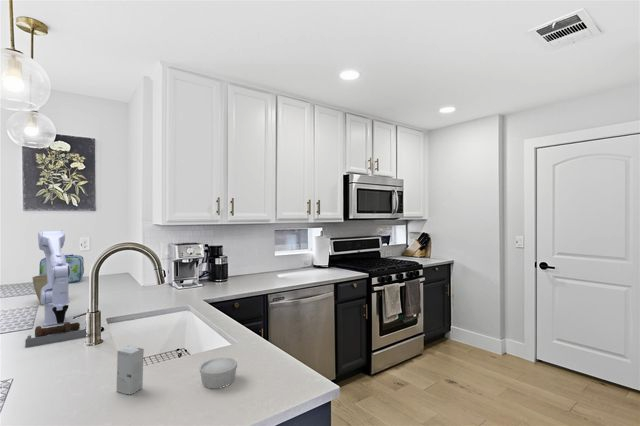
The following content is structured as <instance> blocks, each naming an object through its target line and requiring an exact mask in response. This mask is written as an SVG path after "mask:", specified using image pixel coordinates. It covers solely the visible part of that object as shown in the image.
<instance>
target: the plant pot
mask: <svg viewBox="0 0 640 426" xmlns="http://www.w3.org/2000/svg"><path fill="white" fill-rule="evenodd" d="M32 283H33V284H32V285H33V287H34V291H35V294H36V297H37V299H38V301H39V303H40V305H41V306H43V305H42V304H41V300H40V295H41V289H42V288H43V287H44V286H45V285H47V284H48V282H47V275H35V276H32Z"/></svg>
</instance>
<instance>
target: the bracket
mask: <svg viewBox="0 0 640 426" xmlns="http://www.w3.org/2000/svg"><path fill="white" fill-rule="evenodd" d="M82 338H87V337H86V326H85V327H84V329H80V330H79V329H78V330H72V331H70V332H66V333H64V332H63V333H57V334H52V335H47V336H41V337H35V336H34V337H32V335H31V334H30V335H27V337H26V338H25V341H24V342H25V348H30V347H37V346H42V345H47V344H54V343H59V342H65V341H70V340H77V339H82Z"/></svg>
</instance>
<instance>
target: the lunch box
mask: <svg viewBox="0 0 640 426" xmlns="http://www.w3.org/2000/svg"><path fill="white" fill-rule="evenodd" d="M64 255H65V259H66V263H68V265H69V267H70V277H68V284H69V283H76V282H79V281H81V280H82V279H83V277H84V274H85V267H84V265H85V264H84V263H85V262H84V257H83V256H81V255H77V254H75V255H74V254H64ZM38 274H39V275H47V269H46V256H45V257H43V258H42V259H40V261H39V273H38ZM39 275H38V276H39Z"/></svg>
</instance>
